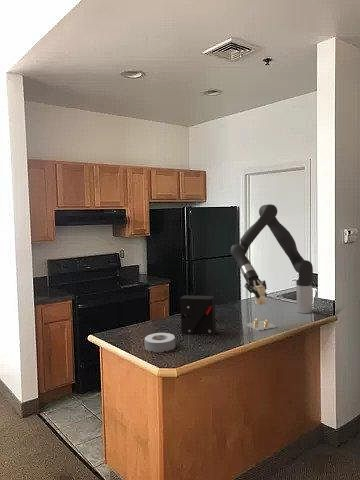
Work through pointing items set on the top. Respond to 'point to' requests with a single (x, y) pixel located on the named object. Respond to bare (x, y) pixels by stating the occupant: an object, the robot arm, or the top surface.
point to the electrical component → (198, 315)
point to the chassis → (261, 325)
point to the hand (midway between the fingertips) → (262, 297)
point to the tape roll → (160, 342)
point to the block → (261, 292)
